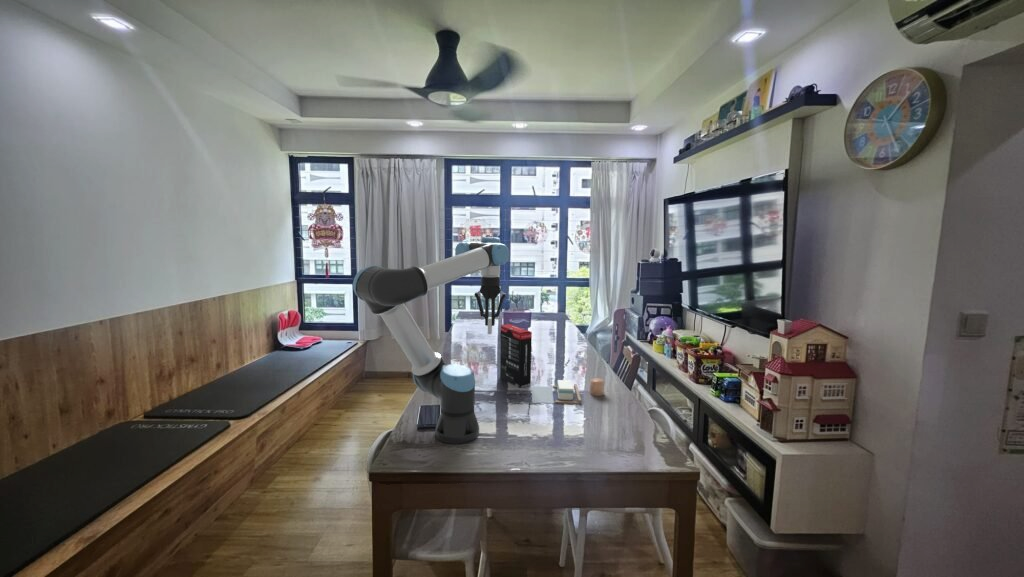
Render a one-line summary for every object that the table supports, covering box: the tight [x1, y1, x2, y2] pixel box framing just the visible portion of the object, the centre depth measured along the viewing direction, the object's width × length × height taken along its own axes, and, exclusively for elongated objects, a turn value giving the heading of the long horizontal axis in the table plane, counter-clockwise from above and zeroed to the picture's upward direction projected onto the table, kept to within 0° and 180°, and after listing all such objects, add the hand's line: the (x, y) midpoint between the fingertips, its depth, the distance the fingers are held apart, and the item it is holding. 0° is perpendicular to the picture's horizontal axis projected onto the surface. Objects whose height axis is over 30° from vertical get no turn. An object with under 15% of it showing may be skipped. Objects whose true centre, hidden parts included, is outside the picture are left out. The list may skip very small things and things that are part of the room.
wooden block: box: [589, 377, 605, 397], centre depth 183 cm, size 6×6×6 cm
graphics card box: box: [499, 324, 533, 389], centre depth 190 cm, size 17×7×27 cm, turn 35°
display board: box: [531, 383, 582, 405], centre depth 177 cm, size 18×20×3 cm
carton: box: [556, 379, 575, 401], centre depth 177 cm, size 10×6×5 cm, turn 177°
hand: (489, 333), depth 168 cm, fingers closed
